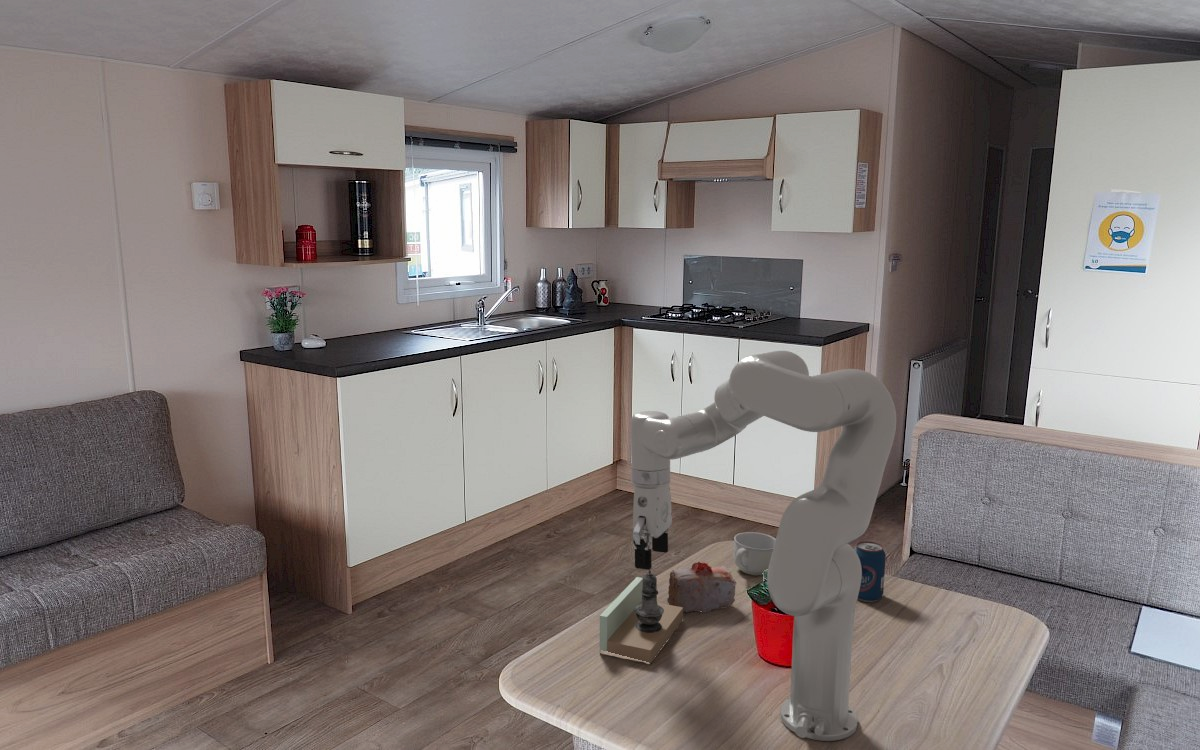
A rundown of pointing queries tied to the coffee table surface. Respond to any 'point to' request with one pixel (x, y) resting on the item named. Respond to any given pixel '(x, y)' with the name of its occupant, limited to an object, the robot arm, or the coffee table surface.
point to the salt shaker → (649, 606)
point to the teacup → (753, 552)
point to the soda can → (871, 570)
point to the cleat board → (622, 630)
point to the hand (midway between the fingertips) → (651, 559)
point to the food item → (701, 588)
